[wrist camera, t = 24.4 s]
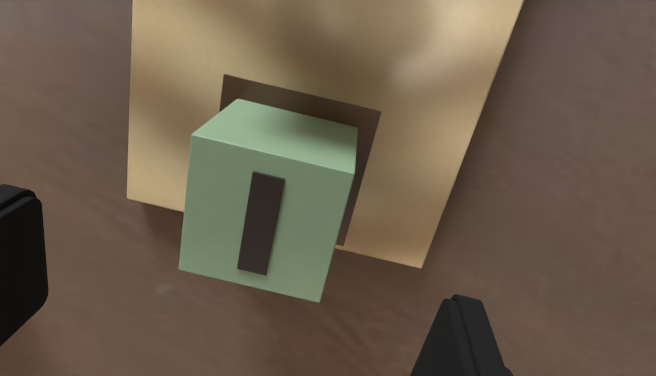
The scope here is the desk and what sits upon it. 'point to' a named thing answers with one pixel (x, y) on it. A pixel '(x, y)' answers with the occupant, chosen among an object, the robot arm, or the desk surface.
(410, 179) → the word board
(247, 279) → the letter tile i
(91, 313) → the desk surface
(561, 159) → the desk surface
